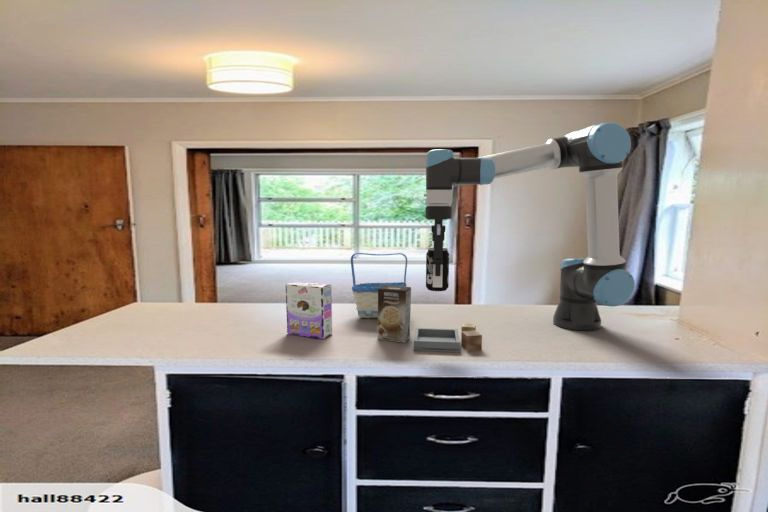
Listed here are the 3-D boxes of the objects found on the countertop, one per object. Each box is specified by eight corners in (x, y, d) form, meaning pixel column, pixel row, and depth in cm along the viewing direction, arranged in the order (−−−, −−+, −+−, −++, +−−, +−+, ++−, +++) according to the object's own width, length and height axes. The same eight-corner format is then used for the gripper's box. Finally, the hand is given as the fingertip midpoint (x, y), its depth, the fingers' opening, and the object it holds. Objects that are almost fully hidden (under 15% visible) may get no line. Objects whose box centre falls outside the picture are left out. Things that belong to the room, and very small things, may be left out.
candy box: (333, 334, 141) (332, 283, 138) (323, 340, 135) (322, 287, 133) (297, 329, 146) (296, 280, 144) (286, 334, 141) (284, 283, 139)
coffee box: (376, 339, 135) (376, 288, 133) (383, 333, 141) (383, 284, 139) (405, 343, 132) (405, 290, 130) (411, 336, 138) (411, 286, 136)
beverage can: (447, 292, 126) (448, 250, 124) (424, 291, 127) (425, 249, 125) (449, 287, 132) (449, 247, 131) (427, 286, 133) (427, 247, 132)
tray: (457, 337, 137) (457, 329, 137) (459, 352, 124) (460, 342, 124) (415, 336, 139) (415, 327, 138) (413, 350, 126) (413, 340, 125)
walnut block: (476, 345, 131) (476, 330, 130) (481, 350, 126) (482, 335, 126) (461, 346, 130) (461, 331, 129) (466, 351, 126) (466, 335, 125)
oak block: (475, 336, 139) (476, 324, 139) (474, 340, 135) (474, 327, 135) (462, 335, 140) (463, 323, 140) (461, 339, 137) (461, 326, 136)
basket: (409, 312, 169) (410, 251, 166) (401, 323, 153) (402, 256, 150) (357, 309, 174) (357, 249, 171) (344, 320, 158) (344, 254, 155)
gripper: (426, 204, 136) (424, 278, 139) (424, 205, 117) (423, 291, 120) (450, 204, 136) (449, 279, 139) (453, 205, 116) (451, 291, 119)
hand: (437, 284), depth 129 cm, fingers closed on beverage can, 6 cm apart
